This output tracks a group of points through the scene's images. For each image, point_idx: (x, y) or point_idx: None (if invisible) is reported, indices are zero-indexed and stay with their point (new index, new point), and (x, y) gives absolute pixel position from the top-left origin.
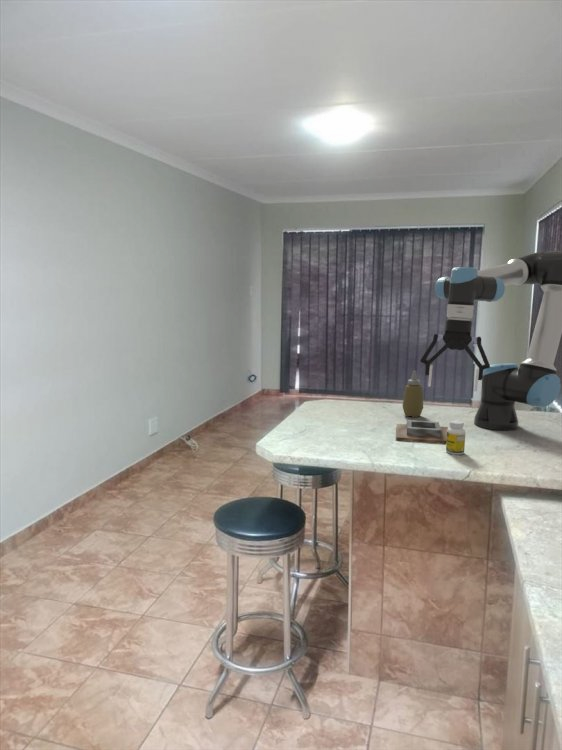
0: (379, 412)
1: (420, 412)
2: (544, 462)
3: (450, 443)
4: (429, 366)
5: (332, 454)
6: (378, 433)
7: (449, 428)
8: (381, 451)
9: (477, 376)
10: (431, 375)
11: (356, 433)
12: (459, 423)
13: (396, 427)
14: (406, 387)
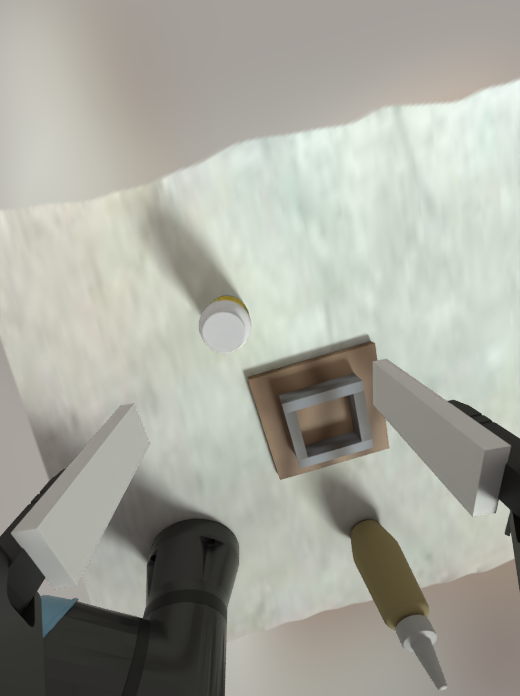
0: (433, 520)
1: (353, 539)
2: (28, 346)
3: (235, 299)
4: (499, 454)
5: (504, 133)
6: (416, 372)
7: (244, 321)
8: (389, 230)
9: (68, 474)
10: (414, 400)
11: (464, 346)
12: (211, 318)
13: (385, 420)
14: (424, 601)
